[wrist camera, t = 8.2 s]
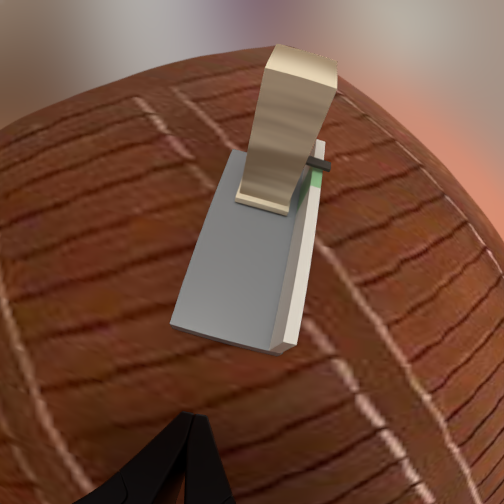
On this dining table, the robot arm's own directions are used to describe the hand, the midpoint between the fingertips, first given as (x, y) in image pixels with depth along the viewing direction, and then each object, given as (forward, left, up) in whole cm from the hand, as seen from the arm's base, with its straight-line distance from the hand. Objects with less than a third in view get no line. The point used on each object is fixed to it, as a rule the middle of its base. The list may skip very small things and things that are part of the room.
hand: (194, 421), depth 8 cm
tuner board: (+13, +4, -12) cm, 18 cm away
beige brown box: (+18, +5, -10) cm, 21 cm away
